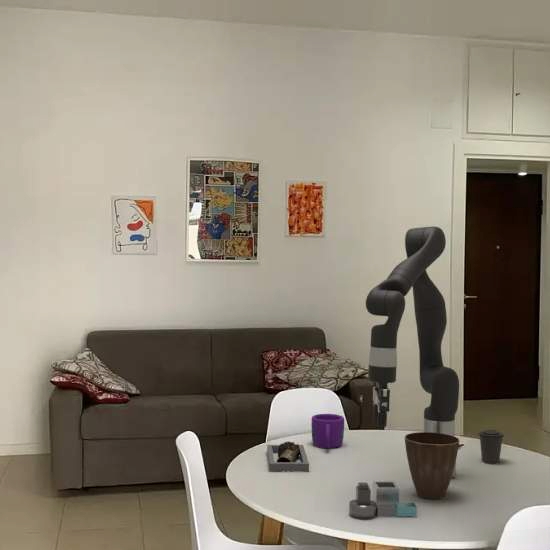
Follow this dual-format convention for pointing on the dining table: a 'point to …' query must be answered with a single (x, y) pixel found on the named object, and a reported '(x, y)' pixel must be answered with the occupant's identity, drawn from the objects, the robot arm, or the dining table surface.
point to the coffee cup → (490, 446)
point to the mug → (327, 430)
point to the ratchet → (376, 506)
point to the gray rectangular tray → (287, 465)
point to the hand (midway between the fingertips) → (379, 423)
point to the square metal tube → (385, 492)
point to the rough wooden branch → (288, 452)
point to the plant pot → (431, 462)
